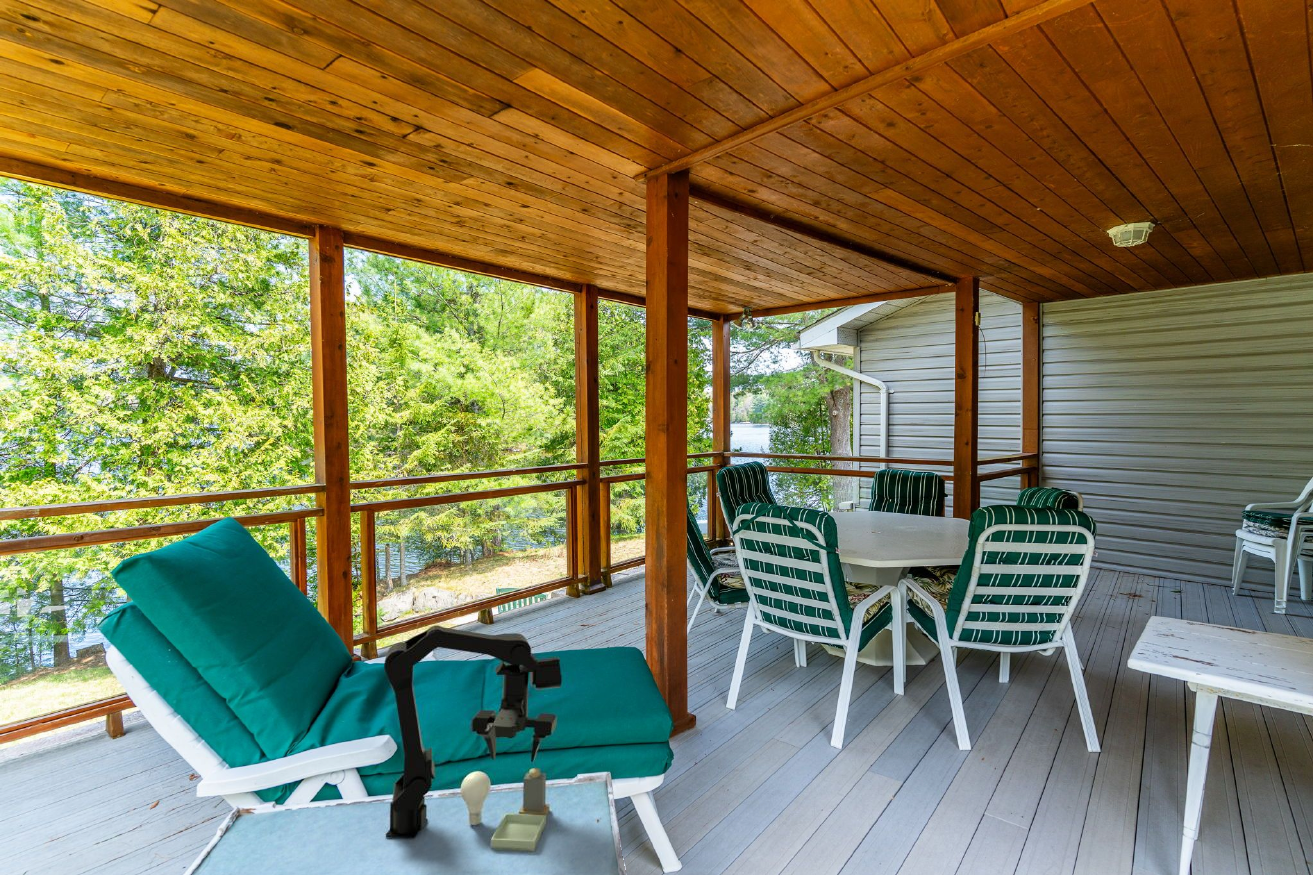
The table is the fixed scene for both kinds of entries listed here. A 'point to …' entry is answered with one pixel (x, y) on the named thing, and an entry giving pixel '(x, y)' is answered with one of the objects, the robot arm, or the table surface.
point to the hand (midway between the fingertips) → (513, 760)
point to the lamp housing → (534, 794)
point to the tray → (518, 832)
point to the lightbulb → (475, 794)
